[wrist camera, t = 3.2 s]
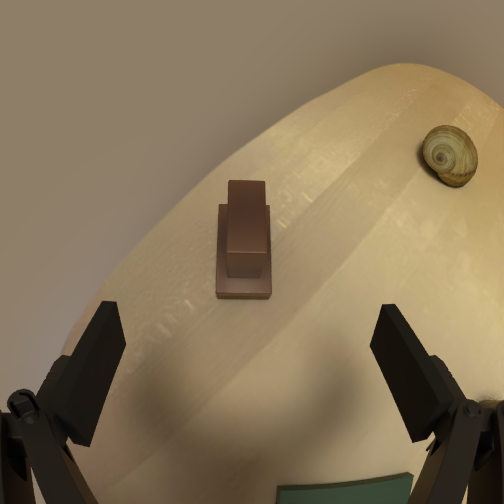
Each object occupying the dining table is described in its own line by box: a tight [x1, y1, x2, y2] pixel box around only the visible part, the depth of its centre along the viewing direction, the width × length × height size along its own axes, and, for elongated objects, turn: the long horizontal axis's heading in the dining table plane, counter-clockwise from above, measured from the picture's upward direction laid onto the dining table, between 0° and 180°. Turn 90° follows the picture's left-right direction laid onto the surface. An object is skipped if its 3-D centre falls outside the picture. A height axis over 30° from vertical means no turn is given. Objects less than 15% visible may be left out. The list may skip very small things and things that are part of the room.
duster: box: [216, 180, 272, 299], centre depth 26 cm, size 8×4×8 cm, turn 0°
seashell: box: [423, 125, 478, 187], centre depth 33 cm, size 10×7×8 cm
